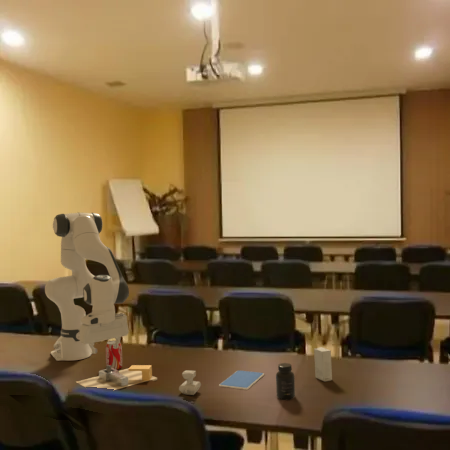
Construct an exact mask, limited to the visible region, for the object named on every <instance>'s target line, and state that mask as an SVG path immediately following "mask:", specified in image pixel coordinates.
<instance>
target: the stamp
mask: <svg viewBox="0 0 450 450" xmlns="http://www.w3.org/2000/svg"><path fill="white" fill-rule="evenodd" d="M196 375H197V371H196V370H184V371H183V372H182V373H181V376H182V377H183V379H184V380H185V381H184V382H182V384H180V385H179V387H178V391H179V392H180V393H182V395H187V396H194V395H195V394H197V392H198V390H199V389H200V388H201V386H202V383H201V381H199V380H197V381H196V380H194V378H195V377H196Z"/></svg>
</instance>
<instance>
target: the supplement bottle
mask: <svg viewBox="0 0 450 450" xmlns="http://www.w3.org/2000/svg"><path fill="white" fill-rule="evenodd" d="M277 366H278V367H277V368H278V369H277V372H276V373H275V386H276V388H275V389H276V398H278V399H280V400H283V401H288V400H289V401H290V400H293V399H294V398H295V397H296V385H295V384H296V383H295V382H296V379H295V373H294V372H293V371H292V370H293V368H292V364H291V363H286V362H283V363H281V362H280V363H279V364H278V365H277Z"/></svg>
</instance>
